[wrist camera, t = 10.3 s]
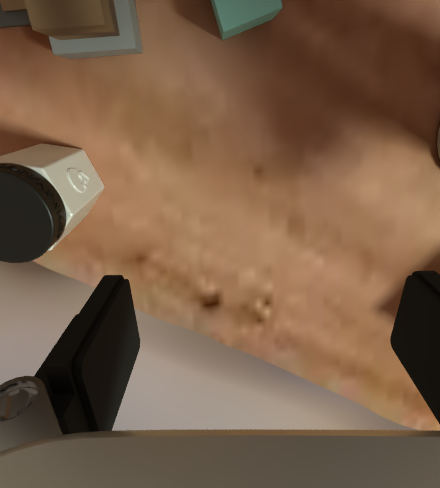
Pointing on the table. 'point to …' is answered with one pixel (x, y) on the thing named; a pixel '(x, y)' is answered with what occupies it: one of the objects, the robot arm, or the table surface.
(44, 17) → the walnut cube
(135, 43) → the grey base block
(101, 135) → the table surface
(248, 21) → the teal cube
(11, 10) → the swatch
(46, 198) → the jar
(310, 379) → the table surface
